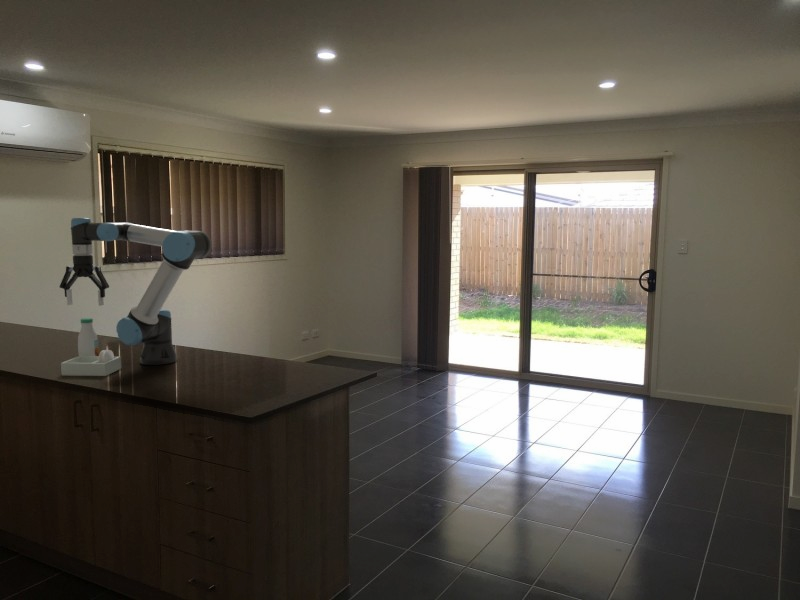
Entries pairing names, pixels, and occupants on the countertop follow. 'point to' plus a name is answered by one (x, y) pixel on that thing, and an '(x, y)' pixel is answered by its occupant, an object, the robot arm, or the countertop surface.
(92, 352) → the milk bottle
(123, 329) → the robot arm
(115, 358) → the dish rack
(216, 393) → the countertop surface
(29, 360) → the countertop surface
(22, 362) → the countertop surface
